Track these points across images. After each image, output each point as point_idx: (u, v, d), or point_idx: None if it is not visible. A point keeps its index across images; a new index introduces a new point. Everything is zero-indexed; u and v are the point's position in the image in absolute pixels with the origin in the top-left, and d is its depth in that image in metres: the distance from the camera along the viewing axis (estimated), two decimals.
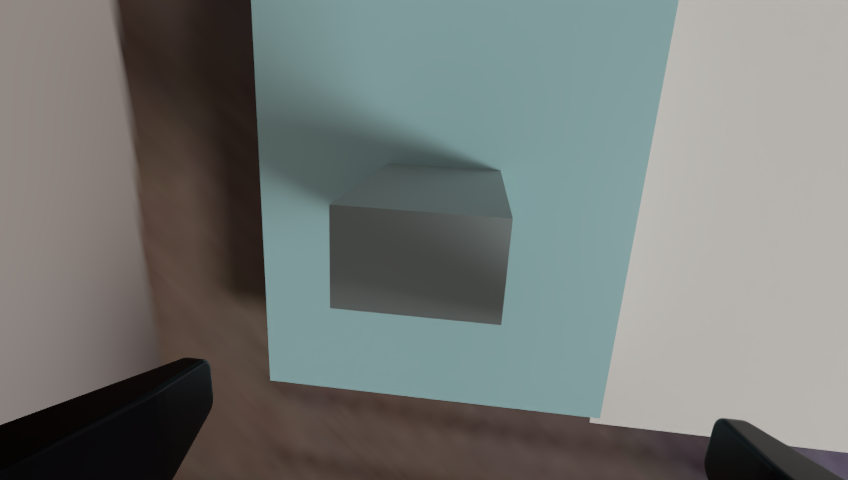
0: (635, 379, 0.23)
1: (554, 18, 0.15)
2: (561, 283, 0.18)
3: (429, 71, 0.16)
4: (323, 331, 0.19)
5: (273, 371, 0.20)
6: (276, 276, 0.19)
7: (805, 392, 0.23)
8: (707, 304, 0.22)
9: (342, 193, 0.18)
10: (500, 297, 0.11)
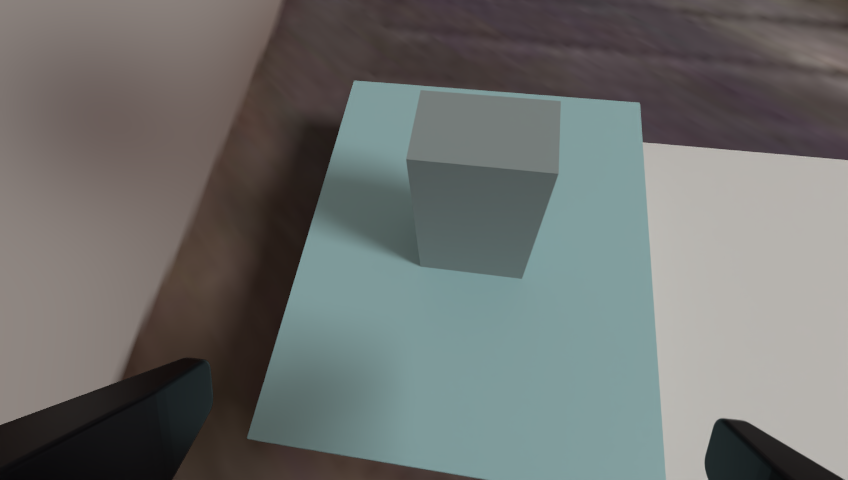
0: None
1: None
2: (591, 325, 0.17)
3: None
4: (332, 372, 0.17)
5: (255, 425, 0.16)
6: (298, 306, 0.18)
7: None
8: None
9: (384, 234, 0.20)
10: (556, 153, 0.13)
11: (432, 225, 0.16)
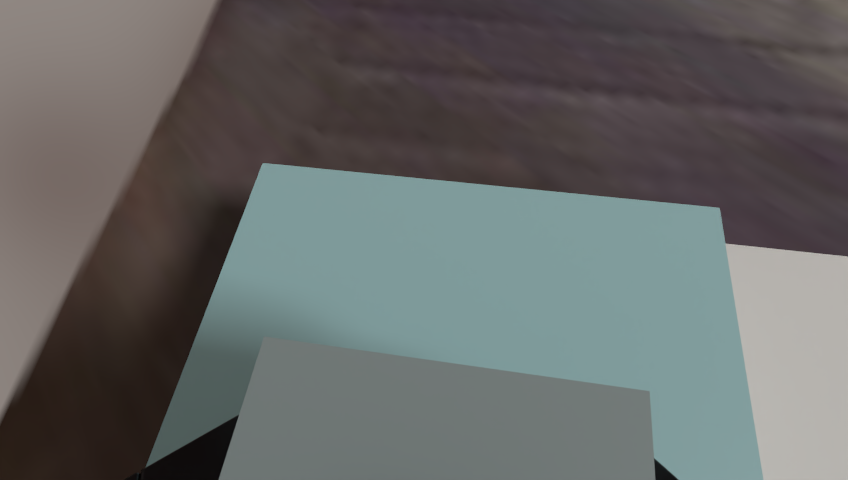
0: None
1: (588, 261, 0.13)
2: None
3: (437, 304, 0.13)
4: None
5: None
6: None
7: None
8: None
9: None
10: None
11: None
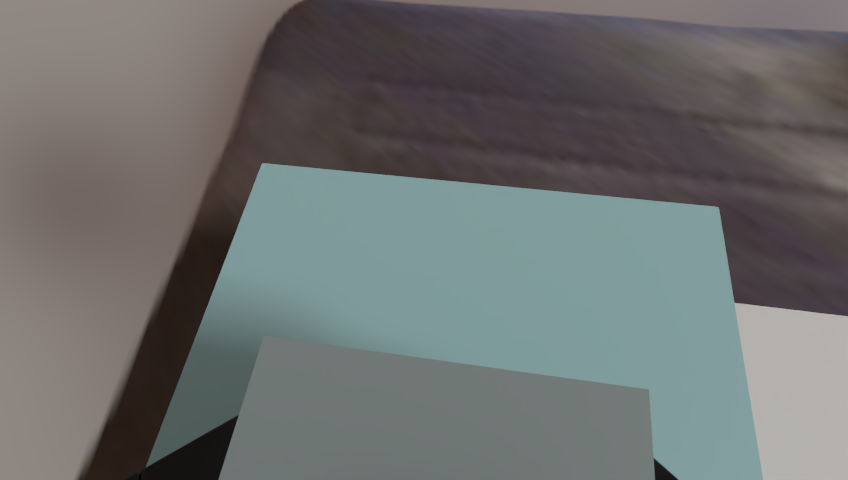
0: None
1: (588, 260, 0.13)
2: None
3: (437, 303, 0.13)
4: None
5: None
6: None
7: None
8: None
9: None
10: None
11: None
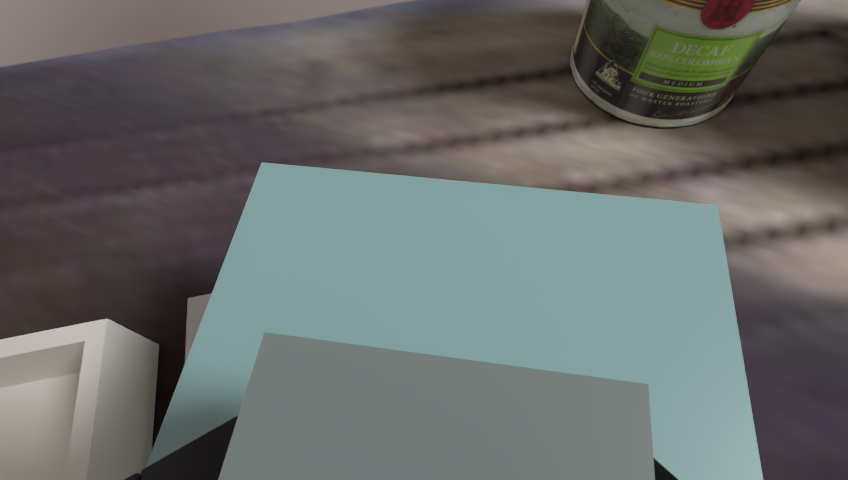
0: None
1: (587, 259, 0.13)
2: None
3: (437, 302, 0.13)
4: None
5: None
6: None
7: None
8: None
9: None
10: None
11: None
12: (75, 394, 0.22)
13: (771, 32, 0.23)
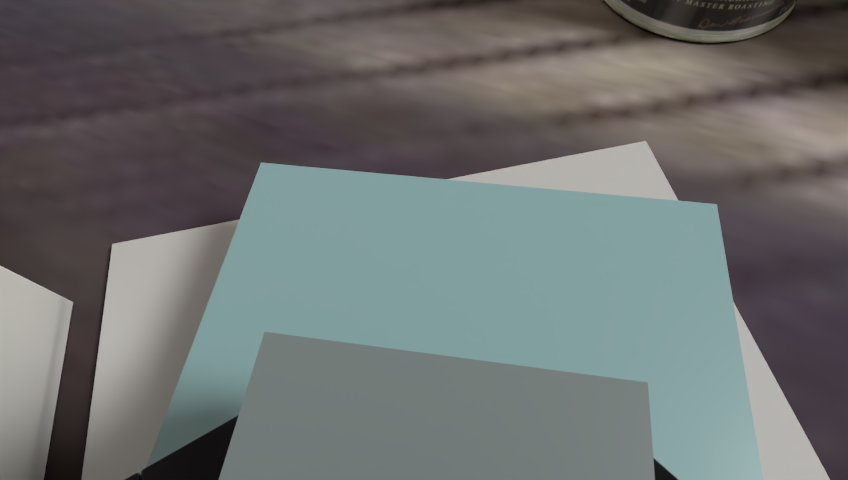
0: None
1: (586, 258, 0.13)
2: None
3: (437, 301, 0.13)
4: None
5: None
6: None
7: None
8: None
9: None
10: None
11: None
12: None
13: None
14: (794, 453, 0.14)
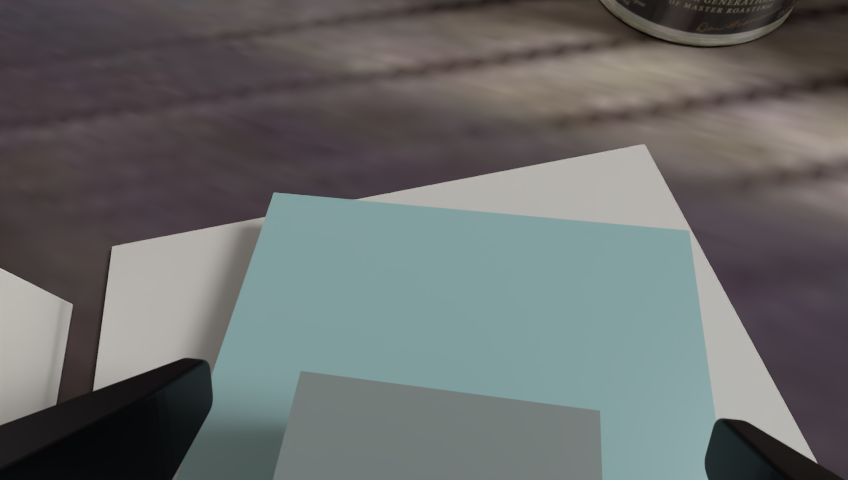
0: None
1: (571, 281, 0.14)
2: None
3: (436, 322, 0.14)
4: None
5: None
6: None
7: None
8: None
9: None
10: None
11: None
12: None
13: None
14: None
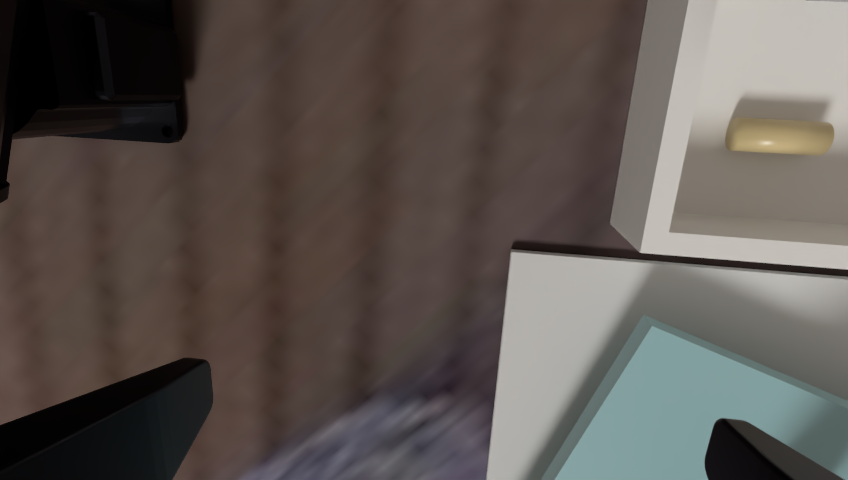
0: (570, 296, 0.21)
1: None
2: None
3: None
4: (680, 400, 0.19)
5: (660, 333, 0.18)
6: (761, 384, 0.18)
7: (554, 443, 0.23)
8: None
9: None
10: None
11: None
12: None
13: None
14: None
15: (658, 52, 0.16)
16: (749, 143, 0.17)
